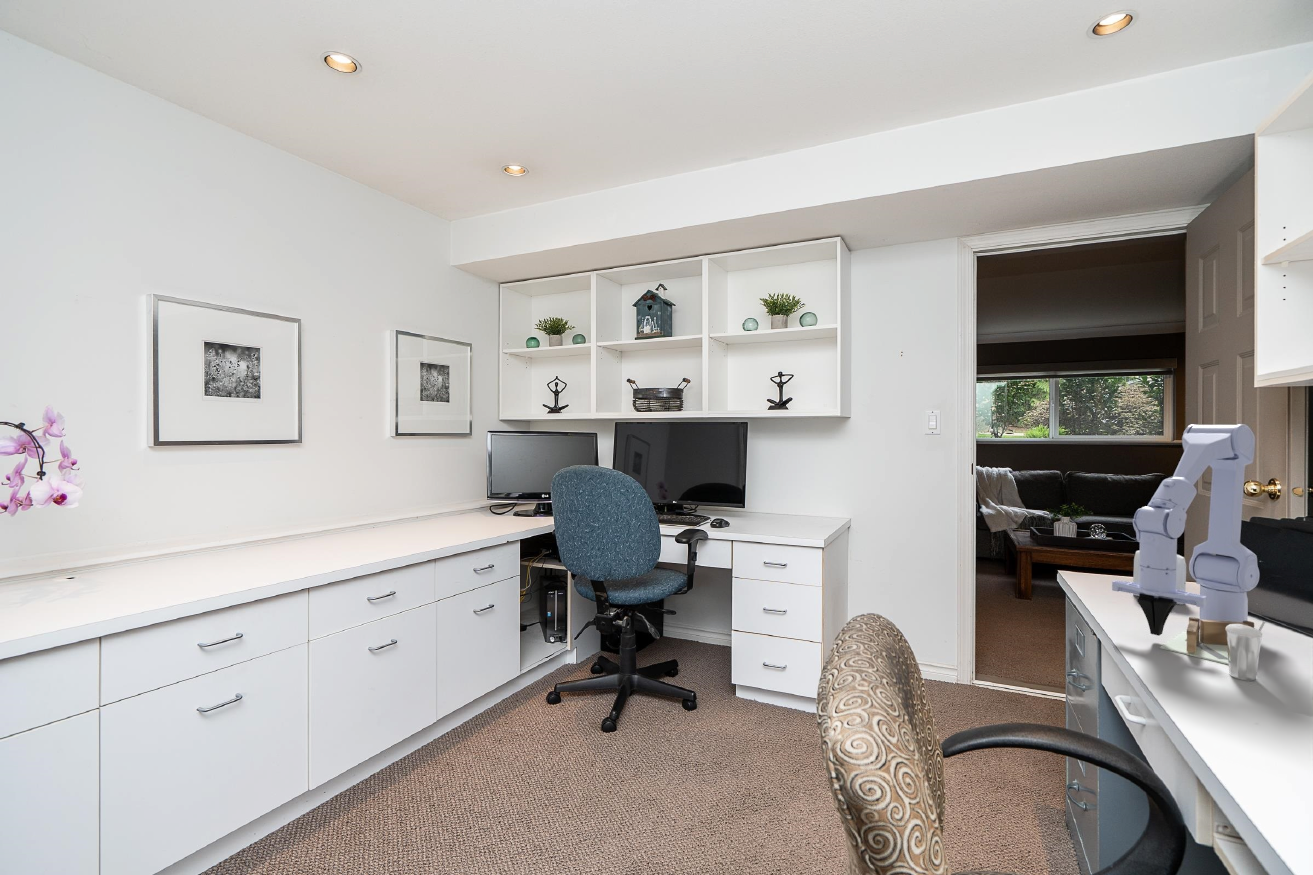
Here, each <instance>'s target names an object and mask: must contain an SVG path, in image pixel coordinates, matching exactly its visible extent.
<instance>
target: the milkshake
mask: <svg viewBox="0 0 1313 875" xmlns="http://www.w3.org/2000/svg"><path fill="white" fill-rule="evenodd" d="M1265 624H1266V621H1262V623H1261V625H1260V627H1259V628H1258V629H1257V628H1255V627H1254V628H1253V627H1250V626H1246V625H1242V624H1229V625H1228V626H1226V628H1225V629H1226V639H1227V649H1228V662H1229V665H1228V672H1229V675H1230V676H1231V677H1233V678H1235V679H1237V680H1242V681H1245V682H1255V681H1256V680H1257V675H1258V668H1259V658H1260V653H1261V652H1260V650H1261V643H1262V638H1263V633H1262V629H1263V628H1264V626H1265Z"/></svg>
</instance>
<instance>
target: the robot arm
mask: <svg viewBox="0 0 1313 875" xmlns="http://www.w3.org/2000/svg"><path fill="white" fill-rule="evenodd" d="M1182 434H1183V435H1182V437H1181V442H1182V449H1183V454H1182V456H1181V458H1180V461H1179V462H1178V465H1177V467H1176V469H1175V471H1174V473H1173V475H1172V477H1168V478H1165V479H1163V480H1162V481H1161V483H1160V484H1159V486H1158V488H1157V489H1156V491H1155V492H1154V494H1153V496H1152V497H1151V499H1150V501H1149V502H1148V504H1147V506H1146V505H1145V506H1142V507H1141V508H1138V509H1137V510H1136V511H1135V513H1134V516H1133V519H1132V526H1133V529H1134V531H1135V535H1136V537H1135V538H1136V539H1135V540H1137V542H1138V543H1139V550H1140V557H1139V583H1133V581H1123V580H1117V579H1116V580H1113V581H1111V590H1112V592H1121V593H1126V594H1128V593H1129V594H1132V595H1133V594H1138V595H1139V596H1138V598H1137V599H1136V600H1137V603H1138V605H1139V606H1140V608H1141V610H1142V612H1143V613H1144V615H1145V618H1146V621H1147V624H1148V627H1149V632H1150V635H1154V636H1157V637H1158V636H1161V635H1162V634H1163V631H1164V627H1165V624H1166V621H1167V620H1168V618H1169V615H1170V614H1171V612H1172V610H1174V608H1175V606H1176V605H1177V604H1176V603H1177V602H1180V603H1185V604H1186V605H1192V606H1196V607H1198V608H1199V619H1202V620H1216V621H1230V622H1243V621H1248V616H1249V615H1248V612H1249V611H1248V610H1249V608H1248V607H1249V606H1248V605H1249V602H1248V601H1249V598H1248V596H1247V592H1250V591H1251V590H1253V589H1254V588H1256V587H1257V586H1258V583H1259V581H1260V569H1259V567H1258V557H1257V556H1258V555H1256V554H1255V553H1254V552H1253V551H1252V550H1250V549H1248V548H1247V547H1246V546H1245V545H1243V544H1242V543H1241V530H1242V517H1243V502H1244V501H1243V500H1244V488H1245V486H1244V484H1245V472H1246V471H1245V470H1246V466H1248V465H1251V464H1253V463H1254V457H1255V450H1256V449H1255V446H1256V436H1255V434H1254V433H1253V431H1252V429H1251V428H1250V427H1249V426H1248V425H1247V424H1244V423H1241V424H1197V423H1196V424H1193V423H1192V424H1189V425H1188V426H1187V427H1186V428H1185V430H1184V431H1183V433H1182ZM1208 467H1210V468H1211V469H1212V471H1211V473H1212V474H1211V487H1210V488H1211V489H1210V503H1209V504H1210V505H1209V516H1208V529H1207V530H1208V533H1207V540H1205V541H1204V542H1202V543H1200V544H1197V545H1195V546H1193V552H1192V556H1191V558H1190V560H1189V562H1188V563H1189V564H1188V570H1189V574H1190V575H1191V577H1192V579H1193V580H1195V582H1196V585H1199V594H1197V593H1192V592H1190V591H1189V592H1188V591H1186V590H1185V591H1181V590H1177V589H1176V564H1177V555H1178V553H1177V552H1178V551H1177V550H1178V538H1180V537H1181V536H1182V534H1183V533H1184V531H1185V529H1186V521H1187V516H1188V514H1187V513H1186V512H1187V510H1188V509H1189V508H1190V505H1191V503H1192V502H1193V500H1194V498H1195V497H1196V495H1197V493H1198V491H1197V489H1196V486H1195V484H1196V482H1197V481H1198V480H1199V479H1200V477H1201V476H1202V475H1203V474H1204V472H1205V471H1206V469H1208ZM1185 604H1184V605H1185ZM1199 629H1200V626H1199Z"/></svg>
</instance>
